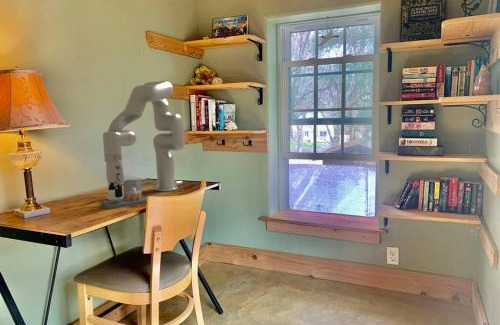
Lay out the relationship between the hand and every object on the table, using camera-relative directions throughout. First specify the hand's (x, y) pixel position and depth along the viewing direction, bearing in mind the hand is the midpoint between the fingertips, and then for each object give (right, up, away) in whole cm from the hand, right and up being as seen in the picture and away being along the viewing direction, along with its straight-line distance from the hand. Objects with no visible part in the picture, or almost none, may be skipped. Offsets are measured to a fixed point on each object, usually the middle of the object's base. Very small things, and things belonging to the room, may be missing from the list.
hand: (115, 195), depth 177 cm
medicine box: (+3, -3, +18) cm, 19 cm away
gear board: (+4, -4, +3) cm, 7 cm away
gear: (0, -1, 0) cm, 1 cm away
